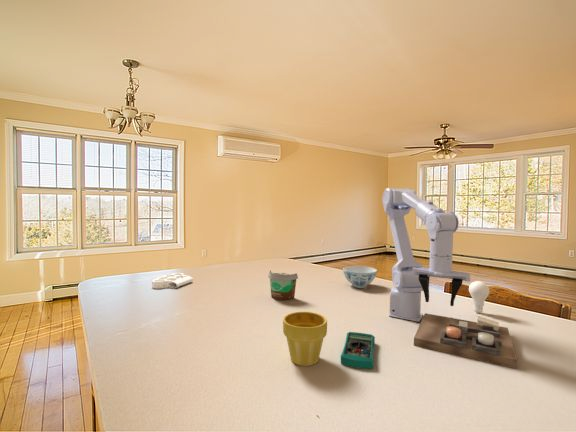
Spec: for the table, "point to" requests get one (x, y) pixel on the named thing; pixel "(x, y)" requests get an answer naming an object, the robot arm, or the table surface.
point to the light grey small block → (463, 327)
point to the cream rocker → (487, 323)
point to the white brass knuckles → (171, 281)
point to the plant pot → (304, 336)
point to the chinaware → (359, 275)
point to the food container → (282, 285)
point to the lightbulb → (478, 294)
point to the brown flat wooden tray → (466, 340)
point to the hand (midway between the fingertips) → (439, 303)
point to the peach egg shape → (453, 332)
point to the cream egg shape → (485, 338)
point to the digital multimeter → (358, 350)
